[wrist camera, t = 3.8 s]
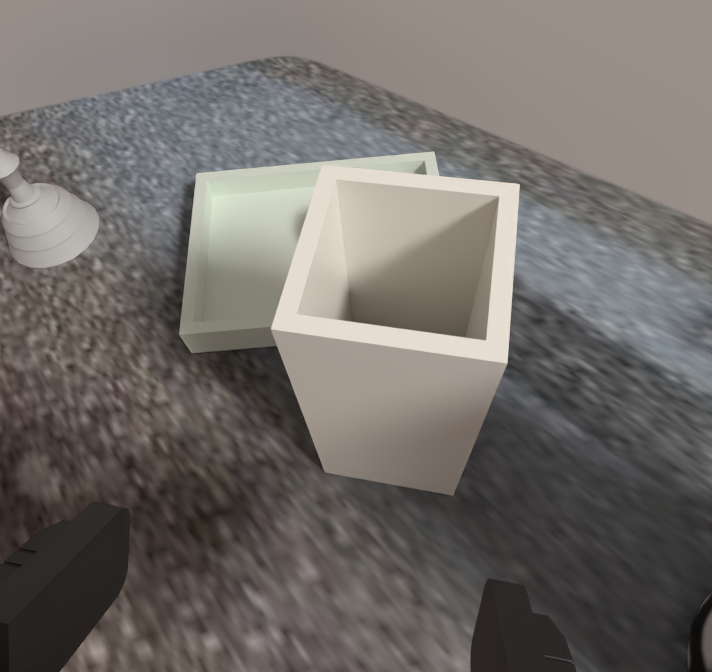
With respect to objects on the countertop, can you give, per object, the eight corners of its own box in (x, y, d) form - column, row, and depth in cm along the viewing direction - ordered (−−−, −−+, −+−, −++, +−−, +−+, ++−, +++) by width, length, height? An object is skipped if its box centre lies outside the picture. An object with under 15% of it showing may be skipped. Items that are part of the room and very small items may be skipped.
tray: (191, 353, 26) (179, 334, 25) (206, 196, 31) (196, 173, 30) (461, 329, 26) (465, 309, 25) (432, 176, 31) (434, 151, 30)
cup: (325, 472, 23) (270, 329, 13) (350, 360, 26) (322, 164, 15) (453, 495, 22) (507, 363, 12) (465, 377, 25) (519, 184, 14)
